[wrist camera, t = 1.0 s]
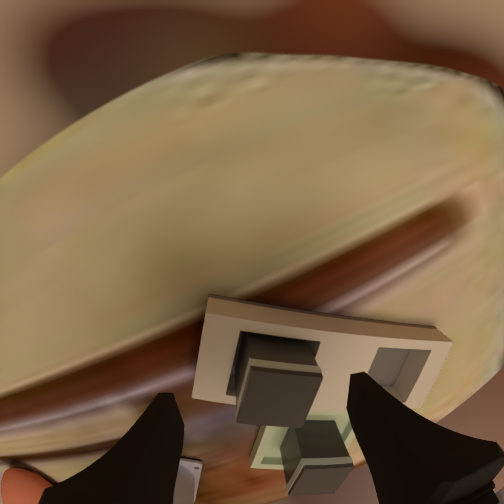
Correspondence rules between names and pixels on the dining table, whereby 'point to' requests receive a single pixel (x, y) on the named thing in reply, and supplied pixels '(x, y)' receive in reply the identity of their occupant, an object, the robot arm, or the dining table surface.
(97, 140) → the dining table surface
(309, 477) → the plug
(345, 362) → the strip
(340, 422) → the tray
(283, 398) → the twin plug
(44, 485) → the sugar bowl
